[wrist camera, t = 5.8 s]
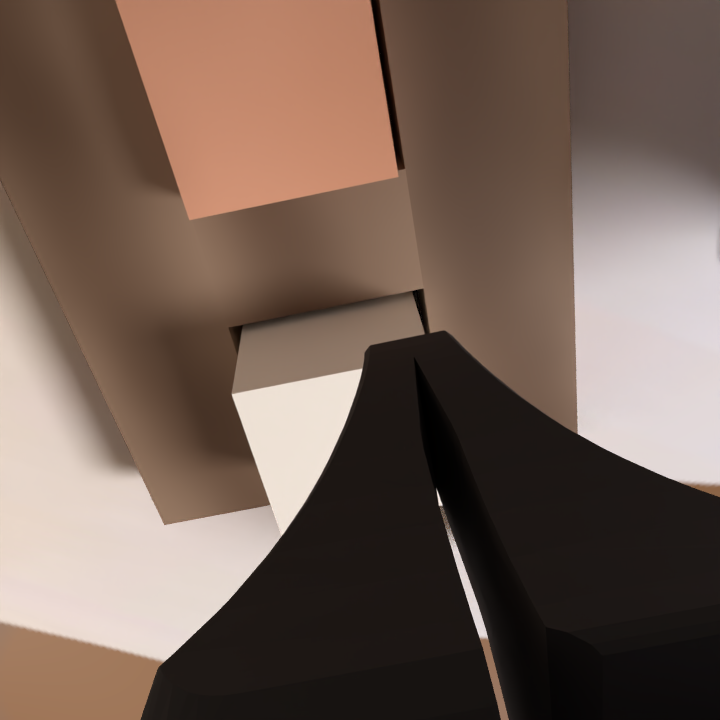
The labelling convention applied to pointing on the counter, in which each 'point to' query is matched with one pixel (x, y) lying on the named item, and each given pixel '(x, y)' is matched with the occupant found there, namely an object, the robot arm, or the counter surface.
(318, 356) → the key cream
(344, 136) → the key terracotta
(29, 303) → the counter surface
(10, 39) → the brown rectangular tray
